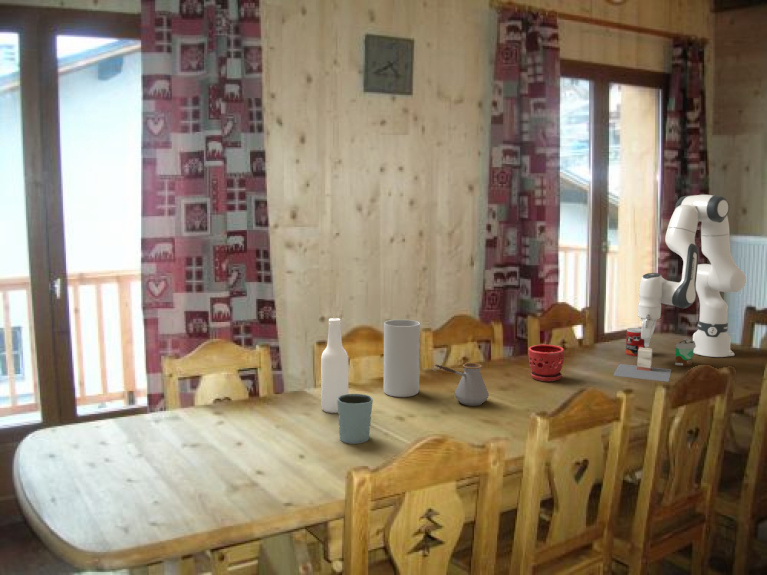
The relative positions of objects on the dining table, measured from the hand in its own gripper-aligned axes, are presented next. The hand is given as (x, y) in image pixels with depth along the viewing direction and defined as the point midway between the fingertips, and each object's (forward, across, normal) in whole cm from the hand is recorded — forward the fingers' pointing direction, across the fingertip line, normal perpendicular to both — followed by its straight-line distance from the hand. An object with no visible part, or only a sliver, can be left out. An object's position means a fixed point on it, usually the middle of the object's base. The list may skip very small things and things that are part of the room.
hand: (646, 346), depth 296 cm
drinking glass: (+9, -129, +69) cm, 146 cm away
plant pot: (+8, -40, +33) cm, 52 cm away
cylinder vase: (+9, -81, +75) cm, 110 cm away
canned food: (+8, +17, +6) cm, 20 cm away
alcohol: (+9, -108, +87) cm, 139 cm away
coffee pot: (+9, -85, +52) cm, 100 cm away
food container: (+8, +6, -15) cm, 18 cm away
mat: (+8, -15, 0) cm, 17 cm away
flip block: (+8, -9, 0) cm, 12 cm away
